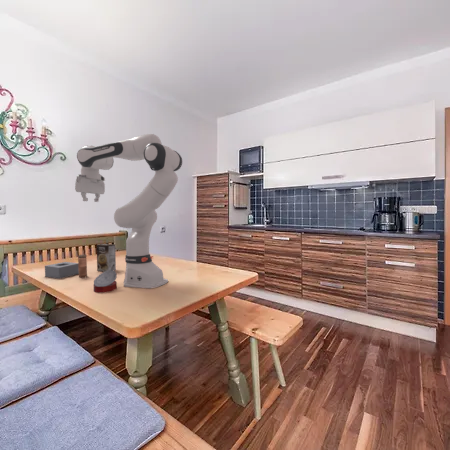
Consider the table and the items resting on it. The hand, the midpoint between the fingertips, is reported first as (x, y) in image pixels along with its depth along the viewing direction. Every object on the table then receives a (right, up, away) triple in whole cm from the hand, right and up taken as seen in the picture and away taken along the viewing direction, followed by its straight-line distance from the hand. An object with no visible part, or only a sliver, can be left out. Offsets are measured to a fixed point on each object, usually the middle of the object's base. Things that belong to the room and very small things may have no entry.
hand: (91, 201), depth 140 cm
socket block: (-19, -42, +5) cm, 46 cm away
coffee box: (+1, -41, +16) cm, 44 cm away
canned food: (+18, -43, -22) cm, 52 cm away
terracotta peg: (-5, -42, +1) cm, 42 cm away
